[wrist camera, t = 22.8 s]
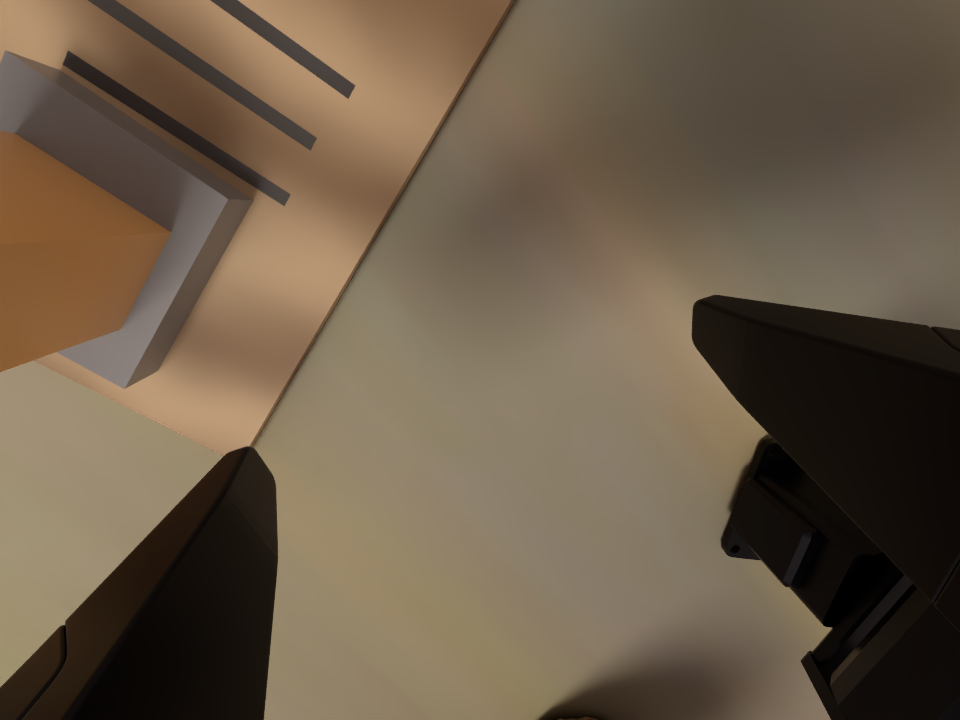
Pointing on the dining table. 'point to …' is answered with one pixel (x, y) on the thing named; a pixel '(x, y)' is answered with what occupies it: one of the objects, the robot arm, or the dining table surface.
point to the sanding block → (98, 228)
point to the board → (265, 160)
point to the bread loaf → (584, 719)
